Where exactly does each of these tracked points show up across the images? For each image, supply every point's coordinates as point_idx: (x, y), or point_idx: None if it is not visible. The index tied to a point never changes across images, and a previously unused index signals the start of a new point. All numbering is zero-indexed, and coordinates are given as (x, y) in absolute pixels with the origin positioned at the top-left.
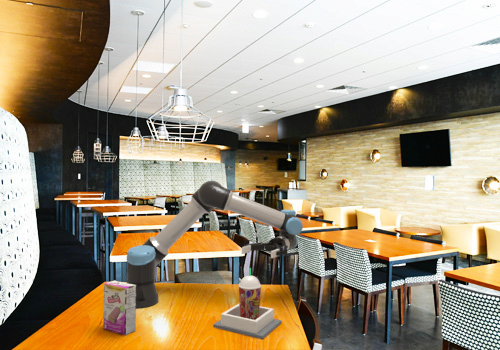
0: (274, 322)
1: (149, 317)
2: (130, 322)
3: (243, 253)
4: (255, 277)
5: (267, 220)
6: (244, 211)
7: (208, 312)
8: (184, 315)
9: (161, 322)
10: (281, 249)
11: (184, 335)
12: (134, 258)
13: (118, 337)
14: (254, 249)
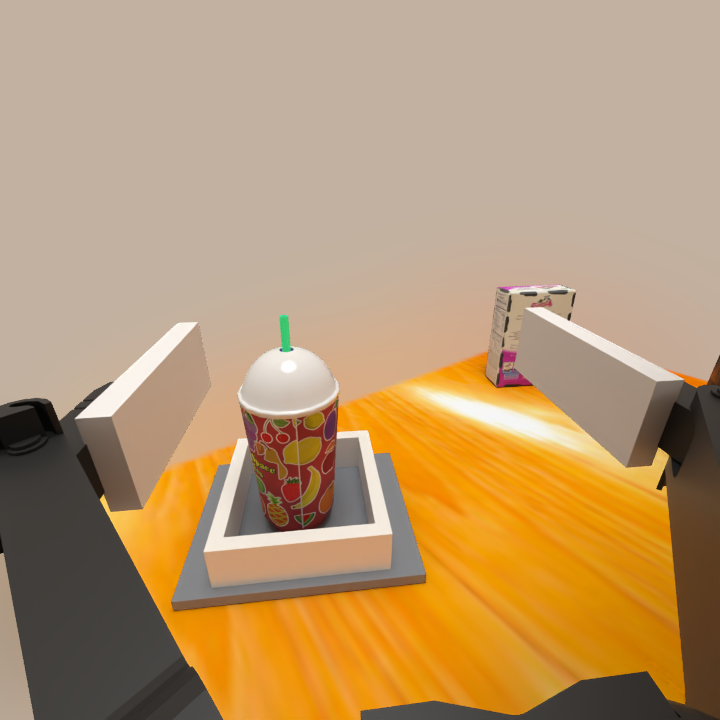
0: (202, 562)
1: (565, 424)
2: (492, 361)
3: (517, 367)
4: (261, 361)
5: None
6: None
7: (508, 524)
8: (528, 469)
9: (512, 422)
10: (29, 428)
11: (405, 411)
12: None
13: (485, 371)
14: (676, 510)
